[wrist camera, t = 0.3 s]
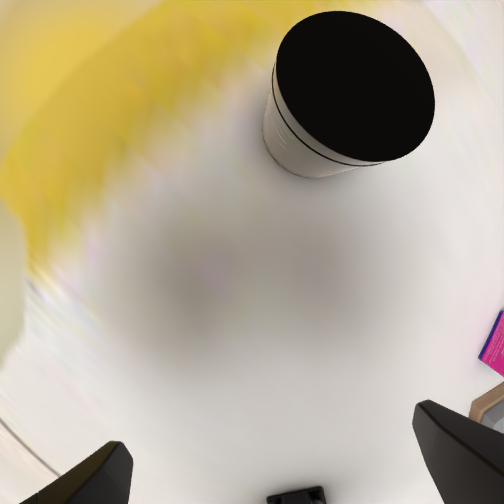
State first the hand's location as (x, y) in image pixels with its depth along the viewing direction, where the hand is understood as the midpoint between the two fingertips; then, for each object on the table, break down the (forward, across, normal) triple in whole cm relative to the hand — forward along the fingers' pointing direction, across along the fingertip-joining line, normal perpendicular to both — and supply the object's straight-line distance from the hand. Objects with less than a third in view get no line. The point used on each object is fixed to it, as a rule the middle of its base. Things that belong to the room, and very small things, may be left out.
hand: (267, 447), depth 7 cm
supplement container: (+15, -5, -10) cm, 19 cm away
